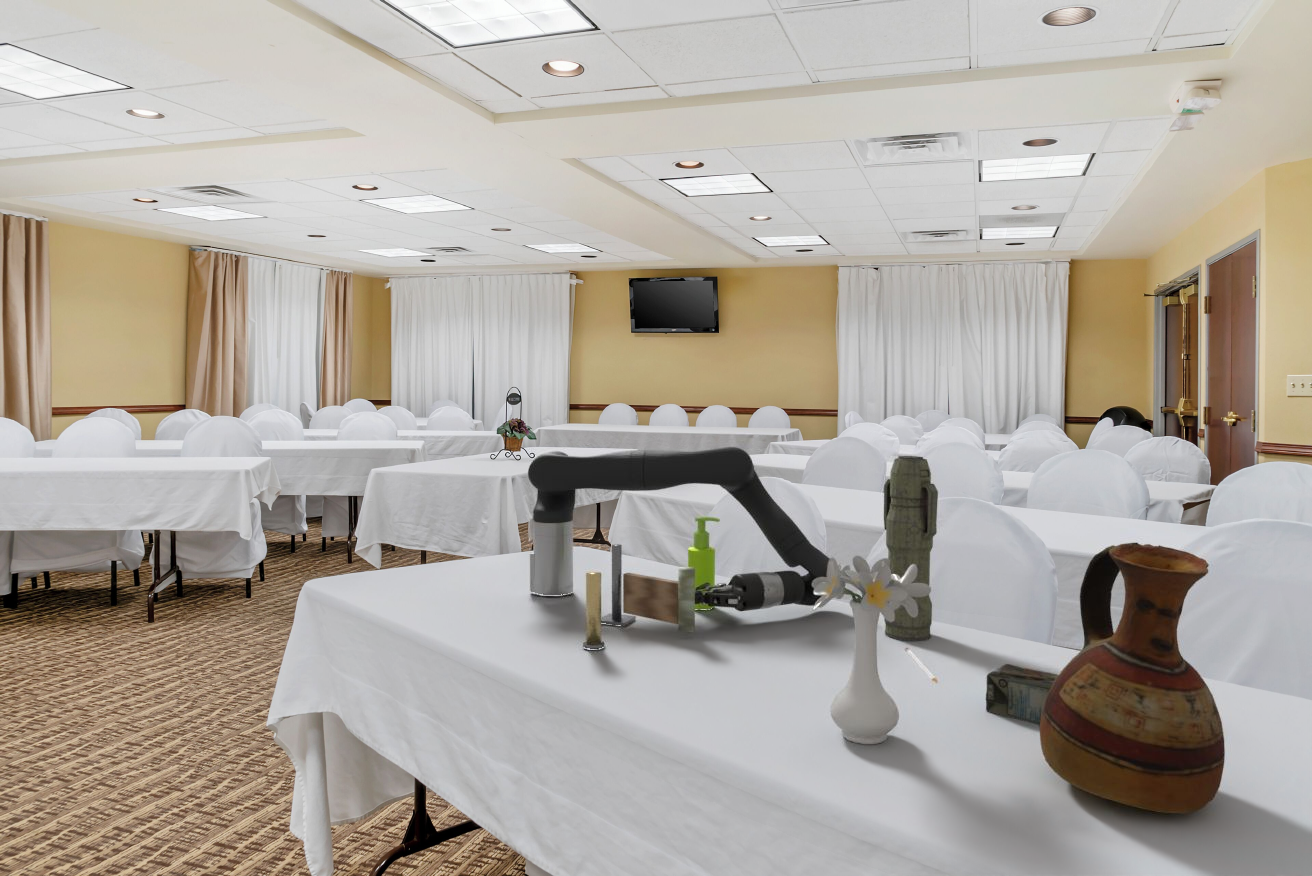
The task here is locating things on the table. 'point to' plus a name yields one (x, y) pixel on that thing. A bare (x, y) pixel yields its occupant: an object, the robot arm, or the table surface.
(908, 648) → the pencil
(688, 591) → the gate
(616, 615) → the hinge post
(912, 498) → the thermos
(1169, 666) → the ceramic pitcher
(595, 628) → the post
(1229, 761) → the table surface
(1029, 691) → the beverage carton
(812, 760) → the table surface
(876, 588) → the flower vase
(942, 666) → the table surface
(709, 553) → the soap dispenser
